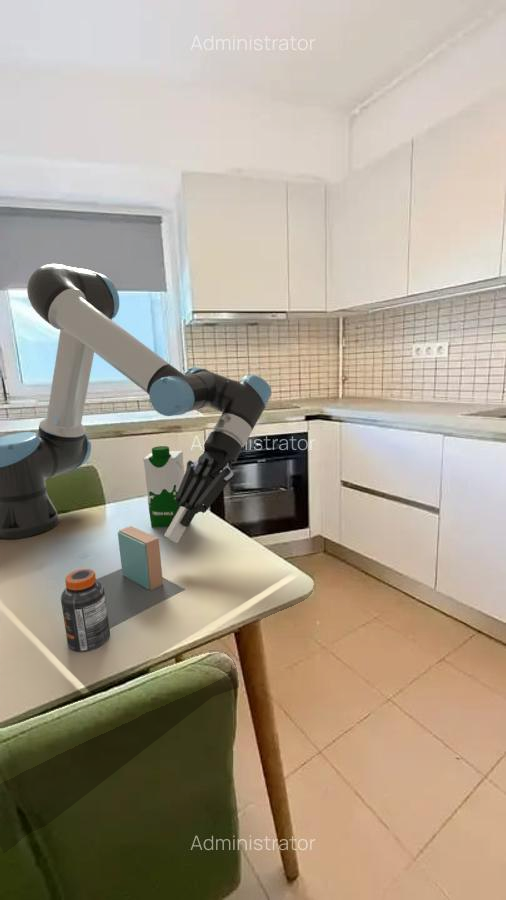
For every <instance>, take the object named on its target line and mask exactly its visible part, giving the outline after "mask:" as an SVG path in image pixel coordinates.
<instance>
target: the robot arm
mask: <svg viewBox="0 0 506 900" xmlns="http://www.w3.org/2000/svg"><path fill="white" fill-rule="evenodd" d="M26 288H27V289H26V290H27V291H26V292H27V298H28V300H29V303H30V305H31V307H32V309H33V311H34V312H35V313H37V314H38V315H39V317H41V318H42V319H43V320H44V321H45V322H46V323H48V324H49V325H50V326H52V327H53V328H54V329H56V330H59V335H58V336H59V337H58V344H57V350H56V356H55V362H54V369H53V375H52V381H51V387H50V388H51V389H50V395H49V402H48V409H47V415H46V418H44V419H42V420H40V422H39V425H38V432H37V433H36V432H32V431H30V432H29V431H24V432H16V433H12V434H8V435H4V436H1V437H0V539H2V538H3V540H13V539H22V538H28V537H33V536H36V535H39V534H43V533H45V532H47V531H50V530H51V529H53V528H55V527H56V526H57V525H58V524H59V514H58V511H57V509H56V507H55V505H54V504H53V502H52V500H51V499H50V496H49V495H48V492H47V484H46V480H48V479H51V478H54V477H58V476H59V475H63V474H65V473H70V472H73V471H75V470H77V469H78V468H81V467H83V465H85V464H86V463H87V462H88V460H89V459H90V456H91V452H92V443H91V441H90V438H89V437H90V436H89V435H88V434H87V429H86V427H85V426H84V425H83V423H82V421H83V417H84V412H85V411H84V410H85V405H86V399H87V393H88V388H89V383H90V377H91V371H92V366H93V362H94V356H95V354H96V355H97V356H98V357H100V358H101V359H102V360H103V361H105V362H106V363H108V364H109V365H110V366H112V367H113V368H114V369H115V370H116V371H118V372H120V373H121V374H122V375H123V376H124V377H126V378H127V379H128V380H130V381H131V382H132V383H133V384H135V385H136V386H137V387H139V389H141V390H143V391H144V392H145V393H147V394H148V395H149V402H150V404H151V405H152V408H153V409H154V411H156V412H157V413H158V414H159V415H162V416H164V417H165V416H166V417H172V416H173V417H174V416H182V415H185V414H186V413H190V412H193V411H196V410H200V409H204V408H207V407H208V408H209V409H214V410H216V411H219V412H221V415H220V417H219V419H218V420H217V422H216V423H215V425H214V427H213V428H212V429H213V430H212V431H211V432H210V434H208V437H207V438H206V439H205V441H204V444H203V448H204V451H203V453H202V454H201V455H199V457H198V459H197V460H195V461H192V460H188V461H187V463H186V471H184V477H183V480H182V482H181V485H180V488H179V490H178V493H177V495H176V498H175V501H176V502H177V503H178V504H179V508H178V509H177V511H176V513H175V515H174V516H173V518H172V522H171V524H170V526H169V527H167V528H166V529H167V530H166V531H165V533H164V537H166V538H167V539H169V540H170V541H172V542H174V543H176V544H178V543H179V541H180V540H181V538H182V536H183V534H184V532H185V531H186V529H187V528H188V527H189V526H190V525H191V524H192V521H193V520H194V518H195V516H196V515H197V514H198V513H203V514H204V513H206V512H207V511H208V509H209V508H210V507H211V506H212V505H213V503H214V502H215V501H216V499H217V498H218V496H219V495H220V494H221V493H222V492H223V490H224V488H226V486H227V485H228V484H229V483H230V482H232V481H233V480H234V479H235V478H236V474H235V473H234V472H233V471H232V470H231V467H232V464H235V463H236V462H237V460H238V458H239V456H240V454H241V452H242V450H243V449H242V448H244V447H245V445H246V444H247V441H248V440H249V438H250V436H251V434H252V432H253V430H254V428H255V427H256V425H257V423H258V422H259V420H260V418H261V416H262V414H263V412H264V410H265V409H266V408H267V404H268V402H269V401H270V398H271V396H272V388H271V385H270V384H269V383H268V382H267V381H266V380H264V379H263V378H262V377H260V376H258V375H255V374H246V375H244V376H243V377H242V379H240V381H237V380H235V379H234V380H233V379H230V378H228V377H226V376H223V375H221V374H217V373H214V372H211V371H210V370H208V369H205V368H200V367H197V366H190V367H188V369H187V370H185V371H184V372H181V371H180V370H179V369H177V368H175V366H173V365H171V364H170V362H168V361H166V360H165V359H164V358H163V357H161V356H160V355H159V354H158V353H156V352H154V350H152V349H151V348H150V347H148V346H146V345H145V344H144V343H143V342H141V341H140V340H139V339H137V338H136V337H135V336H133V335H132V334H131V333H130V332H129V331H127V330H125V329H124V328H123V327H121V326H120V325H119V324H117V322H115V321H113V319H115V318H116V316H117V314H118V312H119V310H120V296H119V292H118V290H117V288H116V286H115V284H114V283H113V282H112V280H111V279H110V278H109V277H107V276H105V275H104V274H102V273H99V272H96V271H94V270H90V269H85V268H77V267H72V266H66V265H64V264H57V263H51V264H44V265H43V266H40V267H39V268H37V269H36V270H34V272H33V273H32V274H31V275H30V277H29V279H28V282H27V286H26Z"/></svg>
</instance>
